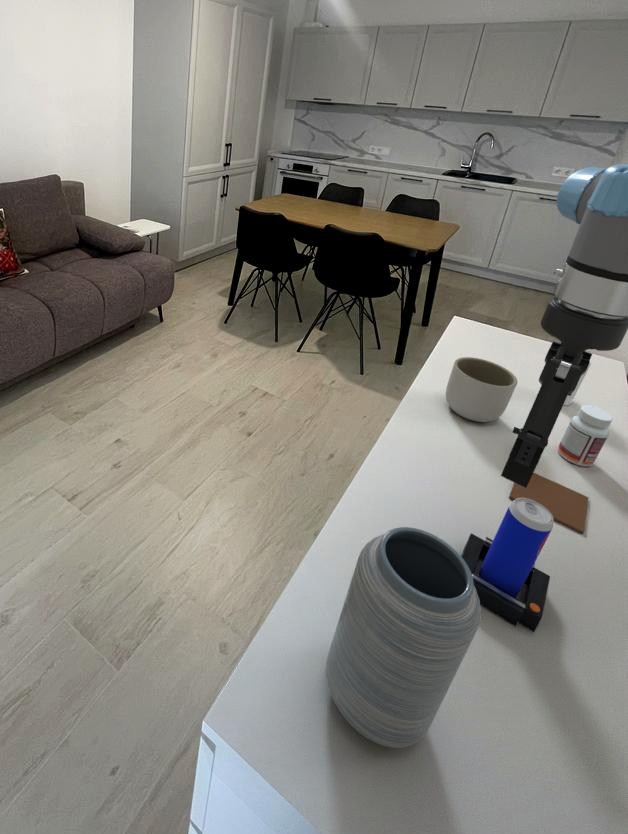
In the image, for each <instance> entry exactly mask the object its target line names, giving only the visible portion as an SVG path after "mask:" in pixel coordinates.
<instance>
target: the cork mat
mask: <svg viewBox="0 0 628 834" xmlns="http://www.w3.org/2000/svg"><path fill="white" fill-rule="evenodd" d="M517 498H527V499H530V500H533V501H535V502H537V503H539V504H541V505H542V506H544V507H545V508H546V509H548V510H549V512H550V513H551V514H552V516H553V521H555V522H557V523H558V524H561V525H563V526H565V527H567V528H569V529H570V530H571V529H572V530H573V531H575V532H578V533H579V534H581V535H583V534H584V533H585V526H586V519H587V511H588V505H589V498H590V497H589V496H587V495H585V494H582V493H580V492H578V491H576V490H573V489H571V488H570V487H567V486H564V485H563V484H560V483H558V482H556V481H553V480H551V479H549V478H547V477H544V476H543V475H540V474H537V473H536V472H535V471H534V472H533V475H532V477H531V479H530V481H529V483H528V485H527V488H525V487H523V486H521V485H519V484H517V483H515V482H513V485H512V489H511V491H510V494H509V497H508V499H510V500H512V501H514V500H515V499H517Z"/></svg>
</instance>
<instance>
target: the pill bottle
mask: <svg viewBox="0 0 628 834" xmlns="http://www.w3.org/2000/svg"><path fill="white" fill-rule="evenodd" d="M613 420H614V419H613V416H612V415H611V414H610V413H609V412H608V411H606V410H604V409H603V408H601V407H598V406H594V405H590V404H583V405H581V406H580V407H579V410H578V412H577V415H574V416H573V417H572V418H571V419H570V421H569V423H568V424H567V427H566V429H565V431H564V433H563V435H562V438H561V440H560V442H559V444H558V447H557V452H558V454H559V456H561V457H562V458H563V459H565V460H566V461H568V462H569V463H572V464H573V465H576V466H580V467H585V468H586V467H592V466H593V465H594V464H595V462H596V460H597V458H598V456H599V454H600V453H601V451H602V449H603V447H604V445H605V443H606V441H607V440H608V438H609V435H610V429H609V427H610V426H611V423H612V421H613Z"/></svg>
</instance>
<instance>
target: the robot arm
mask: <svg viewBox="0 0 628 834" xmlns="http://www.w3.org/2000/svg"><path fill="white" fill-rule="evenodd" d="M555 201H556V207H557V211H558V212H559V213H560V215H561V216H563V217H564V218H565V219H567V220H570V221H573V222H575V223H576V224H577V225H579V227H578V229H577V231H576V234H575V237H574V240H573V242H572V245H571V248H570V250H569V253H568V255H567V257H566V260H565V263H564V265H563V268H559V267H557V268H556V269H555V270H554V271H553V274H554V276H555V277H558V278H559V279H558V281H557V282H556V285H555V288H554V289H553V294H554V297H552V298H551V299H549V301H548V303H547V306H546V308H545V311H544V312H543V315H542V319H541V320H540V326H541V329H542V330H543V332H545V333H546V334H548V335H549V336H551V337H554V338H555V339H557V340H558V341H559V342H557V341H552V342H551V344H550V347H549V349H548V350H547V353H546V355H545V357H544V363H545V364H544V366H543V368H542V370H541V372H540V375H539V377H538V382H539V384H540V385H541V386H540V387H539V390H538V392H537V394H536V396H535V399H534V401H533V404H532V406H531V408H530V410H529V413H528V415H527V417H526V420H525V422H524V424H523V427H520V428H519V427H517V426H514V427H513V429H512V431H511V433H512V434H514V435H517V436H516V439H515V441H514V444H513V446H512V448H511V450H510V454H509V455H508V458H507V460H506V463H505V465H504V468H503V469H502V471H501V474H500V477H502V478H504V479H507V480H509V481H510V482H513V483H514V482H515V483H517V484H519V485H521V486H523V487H525V488H527V485H528V483H529V481H530V479H531V477H532V475H533V472H534V473H535V470H536V468H537V466H538V463H539V462H540V460H541V457H542V455H543V453H544V451H545V449H546V448H547V447H548V445H549V438H550V436H551V434H552V431H553V429H554V427H555V424H556V422H557V420H558V418H559V416H560V413H561V411H562V409H563V406H564V405H563V404H564V402H565V400H566V397H567V395H569V396H571V394H572V393H573V392H574V390H575V388H576V386H577V384H578V381H579V379H580V377H581V375H583V374H584V373H585V372H586V370H587V368H588V365H589V363H590V360H591V359H592V356H593V353H591V352H588V351H586V350H596V351H597V352H598V351H599V352H609V351H614V350H617V349H618V348H619V347H620V346H621V344H622V343H623V341H624V338H625V336H626V334H627V332H628V163H617V164H613V165H611V166H609V167H605V168H603V167H597V166H596V167H595V166H590V167H584V168H581V169H578V170H577V171H575V172H572V174H570V176H568V177H567V178H566V179H565V180H564V181H563V183H562V184H561V186H560V188H559V190H558V192H557V195H556V200H555Z"/></svg>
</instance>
